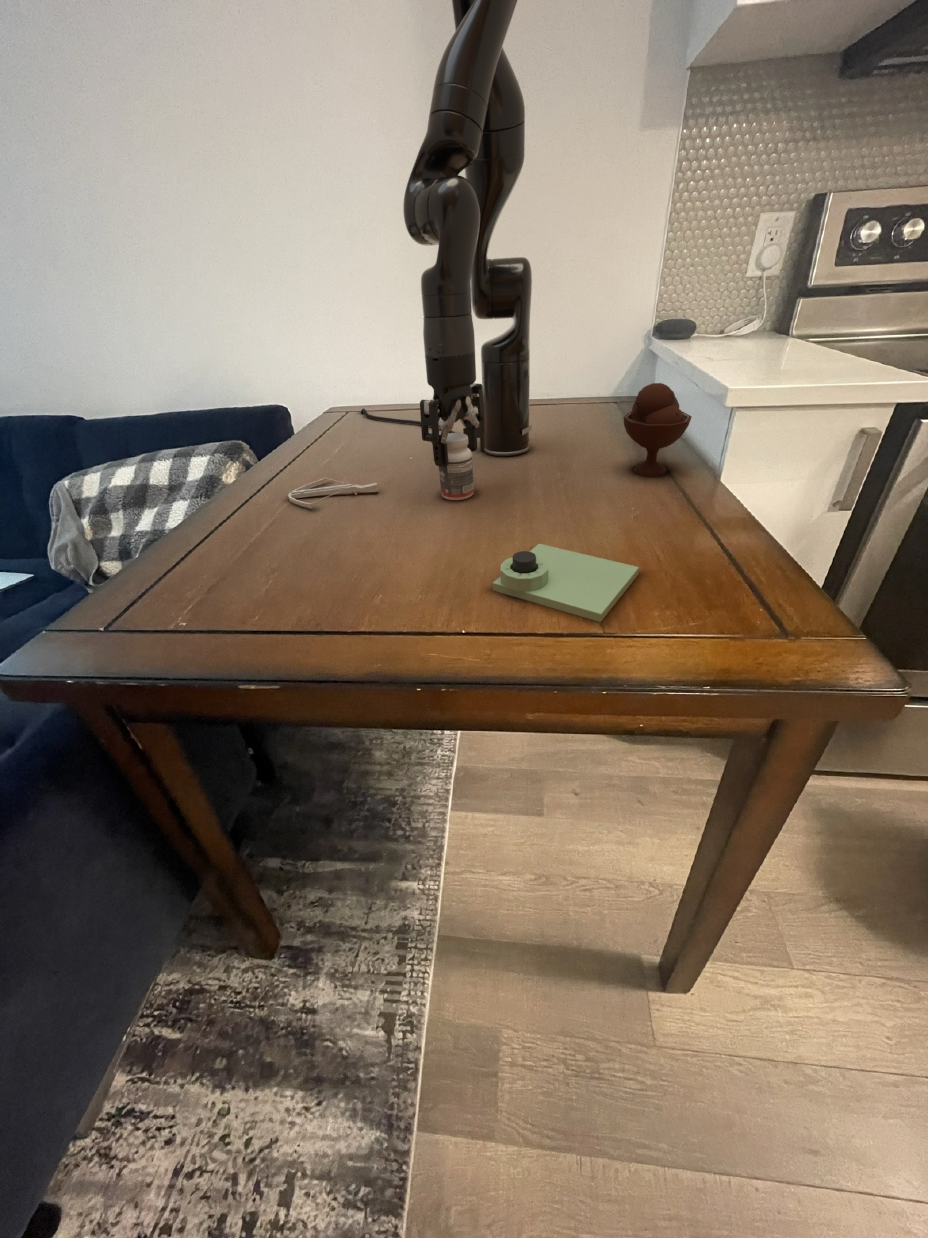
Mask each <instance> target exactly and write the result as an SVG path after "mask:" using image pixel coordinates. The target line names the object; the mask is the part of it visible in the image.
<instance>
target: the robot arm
mask: <svg viewBox="0 0 928 1238" xmlns="http://www.w3.org/2000/svg"><path fill="white" fill-rule="evenodd" d="M517 3H518V0H451V6H452V15H453V22H454V33H453V35H452V37H451V38H450V39H449V41H448V43H447V45H446V48H445V49H444V52H443V53H442V56H441V59H440V61H439V64H438V67H437V70H436V74H435V79H434V84H433V90H432V95H431V101H430V107H429V114H428V120H427V127H426V133H425V136H424V138H423V141H422V143H421V145H420V147H419V150H418V153H417V155H416V159H415V160H414V164H413V167H412V169H411V171H410V174H409V178H408V180H407V183H406V186H405V191H404V196H403V204H402V206H403V208H402V210H403V211H402V213H403V222H404V225H405V229H406V232H407V233H408V235H409V236H410V238H411V239H412V240H413V241H414V242H415V243H417V244H419V245H421V246H426V247H429V246H431V247H432V246H438V249H437V255H436V261H435V264H434V265H432V266H430V267H428V268H426V269H425V270H424V271H422V274H421V276H420V291H421V292H420V293H421V294H420V295H421V306H422V319H423V323H422V324H423V328H422V336H423V349H424V350H423V351H424V359H425V360H424V362H425V373H426V383H427V384H428V386H430V387H431V388H432V390H433V396H432V398H431V399H421V400H420V401H419V411H420V420H411V419H401V418H392V417H386V416H385V417H384V416H378V415H377V416H376V415H373V414H370V413H368V412H367V410H366V408H362V409H361V410H360V414H361V415H363V414H364V415H365V417H367V418H369V419H372V420H376V421H377V420H378V421H385V422H392V423H400V424H410V425H419V426H420V427H421V428H420V429H421V430H420V431H421V440H422V441H423V442H429V443H431V444H432V454H433V462H434V465H435V466H436V467H439V466H440V467H446V466H448V450H447V443H445V442H446V440H447V436H448V434H449V433H456V432H455V431H453V430H452V429H453V428H454V425H455V424H456V423H458V421H459V420H460V422H461V424H462V426H463V428H462V434H466V435H467V436H468V445H467V448H469V449H470V450H471V452H472V453H474V452H476V451H477V450H478V439H479V450H480V452H483V453H485V454H487V455H490V456H496V457H513V456H519V455H523V454H526V453H527V452H528V451H529V450H530V432H531V431H532V424H530V385H531V384H530V383H531V382H530V380H531V379H530V377H531V375H530V374H531V373H530V371H531V370H530V369H531V367H530V366H531V365H530V363H531V358H530V357H531V356H530V355H531V353H530V352H531V348H530V346H531V345H530V343H531V341H530V335H531V334H530V331H531V329H530V328H531V309H532V294H533V291H532V290H533V273H532V266H531V263H530V260H529V259H528V258H526V257H524V256H523V257H522V256H518V257H517V256H516V257H515V256H514V257H501V258H489V257H488V253H489V249H490V243H491V240H492V236H493V235H494V234H493V233H494V232H495V228H496V226H497V223H498V221H499V219H500V216H501V214H502V212H503V210H504V208H505V206H506V204H507V202H508V200H509V198H510V197H511V194H512V192H513V190H514V188H515V186H516V184H517V182H518V180H519V178H520V175H521V172H522V169H523V166H524V162H525V156H526V155H525V154H526V153H525V152H526V151H525V149H526V147H525V139H526V137H525V136H526V135H525V134H526V133H525V132H526V131H525V130H526V122H525V121H526V119H525V118H526V115H525V114H526V108H525V107H526V105H525V100H524V96H523V93H522V90H521V87H520V83H519V81H518V79H517V76H516V74H515V71H514V68H513V67H512V65H511V61H510V60H509V58H508V56H507V54H506V51H505V49H504V47H503V46H504V43H505V40H506V36H507V35H508V32H509V27H510V26H511V25H510V24H511V22H512V19H513V15H514V14H515V9H516V6H517ZM463 171H464V176H463V175H460V173H462V172H463ZM472 312H473V314H472ZM473 315H474V316H475V317H476V318H477V319H479V320H502V319H512V324H511V325H510V327H509V328H508V329H506V330H505V331H504V332H502V333H501V334H499V335H498V336H496V337H493V338H491V339H488V340H487V341H485V342H483V344H482V345H481V347H480V360H481V361H480V367H481V383H476V381H477V366H476V363H477V362H476V341H475V339H476V338H475V327H474V322H473ZM475 407H476V409H477V411H476V409H475ZM429 428H431V429H429ZM429 430H431V431H429ZM440 430H441V431H440Z"/></svg>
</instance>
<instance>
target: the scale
mask: <svg viewBox="0 0 928 1238" xmlns="http://www.w3.org/2000/svg"><path fill="white" fill-rule="evenodd" d="M529 552H532V553H534V554H535V555H536V570H535V572H531V573H526V574H521V573H517V572H514V571H513V556H512V557H509V558H506V559H505V560H504V561H503V562H501V564H500V576H499V577H497V578H496V579H495V580H494V581H493V582H492V590H493V592H498V593H500V594H504V595H507V596H510V597H513V598H517V599H521V600H524V601H528V602H530V603H534V604H537V605H541V606H544V607H548V608H552V609H554V610H557V611H561V612H564V613H569V614H571V615H575V616H578V617H581V618H585V619H588V620H590V621H595V622H598V623H602V621H603V620H604V619H605V617H606V616H607V615H608V613H609V612H610V611H611V610H612V608H613V607H614V606H615V605H616V603H617V602H618V601H619V599H621V597H622V596H623V595H624V593H625V592H626V591H627V590H628V589H629V587H630V586H631V585H632V584H633V582H634V581H635V580H636V579H637V577H638V576H639V571H640V567H639V566H636V565H632V564H627V563H624V562H619V561H615V560H611V559H606V558H602V557H599V556H598V557H597V556H594V555H589V554H585V553H582V552H577V551H573V550H569V549H564V548H560V547H555V546H551V545H547V544H542V543H538V544H537V545H535V546H534V547H532V548H531V550H529Z"/></svg>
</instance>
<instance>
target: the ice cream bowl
mask: <svg viewBox="0 0 928 1238" xmlns="http://www.w3.org/2000/svg"><path fill="white" fill-rule="evenodd" d="M692 417H693V416H692V415H690V414H688V413H686V412H685V411H682V409H680V404H679V400H678V398H677V397H676V394H675V392H674V390H673V389H671V388H670V386H668V385H667V384H665V383H662V382H653V383H649V384H647V385H645V386H644V387H642V389H641V390H639V391H638V393H637V396H636V398H635V399H634V403H633V404H632V407H631V411H629V412H627V413H626V414H625V415H624V416H623V426H624V429H625V433H626V434H627V435H628V436H629V438H630V439H631V440H632V441H633V442H634V443H636V444H637V445H639V446H640V447H641V448H644V449H645V450H646V457H645V458H646V459H645V460H644V461H643V462H641V463H638V464H636V466H634V469H633V472H635V474H637V475H641V476H645V477H657V476H662V475H665V473H666V472H667V469H666V467H665V466H664V465H663V464H661V463H660V462H658V461H657V458H658V453H659V451H660V450H661V449H664V448H667V447H669V446H671V445H673V444H675V443H676V442H677V441H678V440H679V439H681V438H682V436H683V435H684V433H685V432H686V430H687V429H688V427H689V426H690V424H691V423H690V422H691V420H692Z"/></svg>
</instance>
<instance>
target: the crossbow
mask: <svg viewBox="0 0 928 1238" xmlns="http://www.w3.org/2000/svg"><path fill="white" fill-rule="evenodd" d="M328 480H330V481H334V482H338V483H341V485H333V486H325V487H317V486H319V485H322V484H325V483H327V482H328ZM314 487H317V488H314ZM379 490H380V489H379V484H378V482H373V483H369V484H365V485H360V484H355V483H352V482H351V483H347V482H343V481H339V480H335V479H332V478H328V477H322V478H321V479H318V480H315V481H312V482H309V483H307V484H304V485H302V486H300V487H298V488H295V489H294V490H291V491H290V492H288V494H287V497H288V500H289V501H290V503H293V504H294V505H297V506H300V507H304V508H309V509H314V507H313V505H312V504H314V503H317V502H319V501H321V500H323V499H326V498H328V497H331V496H333V495H335V494H341V493H347V492H349V493H350V492H351V493H352V494H354V495H355V496H357V495H358V492H359V493H376V492H377V493H378V492H379ZM325 495H326V496H325ZM327 495H328V496H327ZM317 496H325V497H322V498H320V499H317V500H315V501H313V502H305V501H302V500H298V499H302V498H310V497H317Z"/></svg>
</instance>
